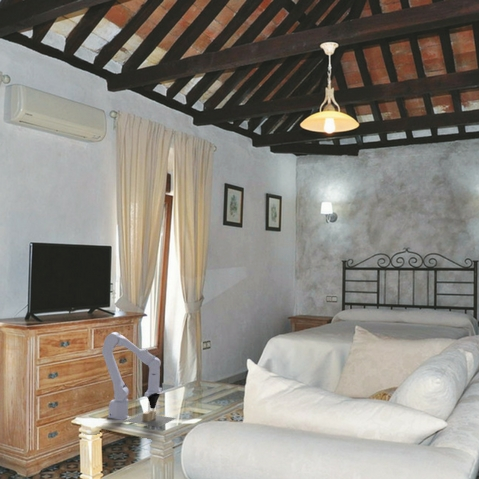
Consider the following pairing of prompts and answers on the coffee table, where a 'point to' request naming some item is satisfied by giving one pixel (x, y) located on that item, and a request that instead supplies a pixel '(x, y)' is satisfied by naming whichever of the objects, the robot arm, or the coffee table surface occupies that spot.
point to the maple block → (149, 415)
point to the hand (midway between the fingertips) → (152, 408)
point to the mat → (155, 422)
